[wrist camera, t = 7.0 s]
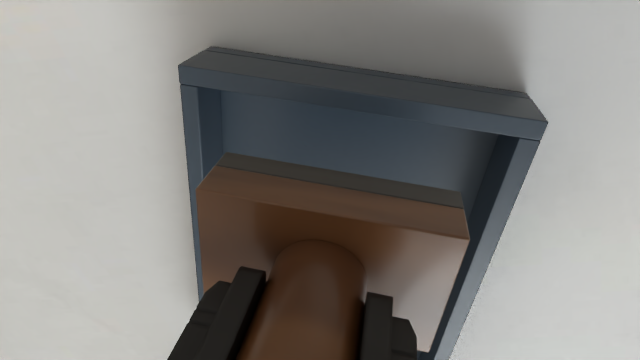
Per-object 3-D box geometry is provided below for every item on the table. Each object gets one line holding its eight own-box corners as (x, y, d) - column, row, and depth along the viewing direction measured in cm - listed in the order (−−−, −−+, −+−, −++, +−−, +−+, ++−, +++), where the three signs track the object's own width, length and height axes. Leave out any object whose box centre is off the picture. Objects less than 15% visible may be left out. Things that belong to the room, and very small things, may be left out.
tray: (209, 45, 20) (177, 64, 17) (527, 92, 18) (549, 121, 15) (223, 338, 31) (205, 378, 28) (418, 381, 30) (420, 428, 27)
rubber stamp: (225, 150, 14) (42, 370, 7) (461, 191, 13) (521, 486, 6) (229, 259, 17) (97, 499, 10) (426, 298, 16) (442, 593, 9)
